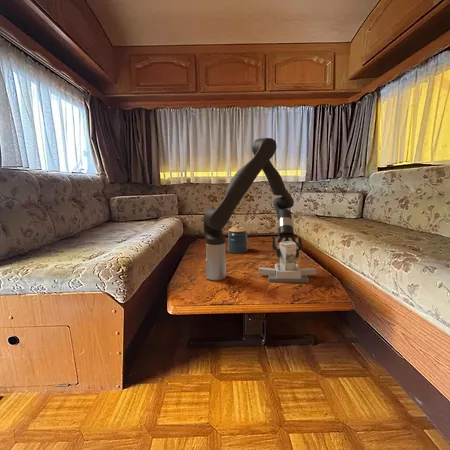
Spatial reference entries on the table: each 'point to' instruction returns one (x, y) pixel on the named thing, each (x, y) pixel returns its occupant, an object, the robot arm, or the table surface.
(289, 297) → the table surface
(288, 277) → the base
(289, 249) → the syrup box
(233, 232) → the canister
